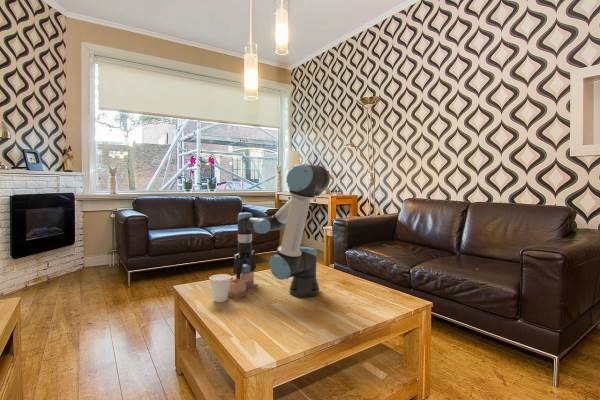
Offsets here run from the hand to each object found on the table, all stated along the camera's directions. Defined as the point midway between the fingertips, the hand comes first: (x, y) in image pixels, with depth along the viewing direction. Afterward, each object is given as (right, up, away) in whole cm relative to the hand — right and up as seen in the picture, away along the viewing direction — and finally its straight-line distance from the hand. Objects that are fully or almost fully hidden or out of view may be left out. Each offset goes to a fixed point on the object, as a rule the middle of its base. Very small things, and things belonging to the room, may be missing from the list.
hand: (244, 284), depth 170 cm
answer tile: (0, -1, 0) cm, 1 cm away
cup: (-8, -2, -21) cm, 23 cm away
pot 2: (-2, -2, -14) cm, 15 cm away
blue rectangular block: (0, +2, 0) cm, 2 cm away
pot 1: (0, 0, 0) cm, 0 cm away
